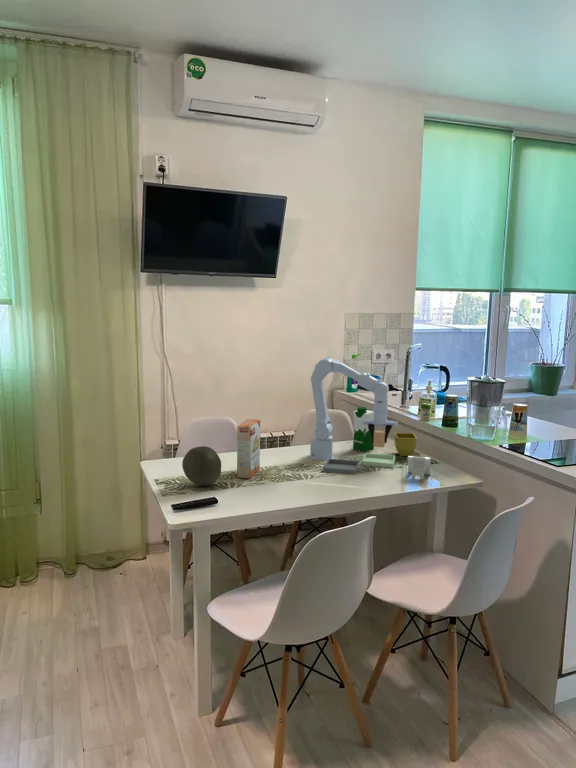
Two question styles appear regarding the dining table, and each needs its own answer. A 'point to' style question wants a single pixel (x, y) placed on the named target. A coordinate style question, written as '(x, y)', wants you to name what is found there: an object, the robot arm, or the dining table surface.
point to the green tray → (378, 460)
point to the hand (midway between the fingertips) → (379, 442)
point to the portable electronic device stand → (418, 466)
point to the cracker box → (248, 448)
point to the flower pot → (405, 443)
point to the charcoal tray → (341, 466)
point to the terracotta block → (379, 438)
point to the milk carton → (362, 430)
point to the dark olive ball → (202, 466)
